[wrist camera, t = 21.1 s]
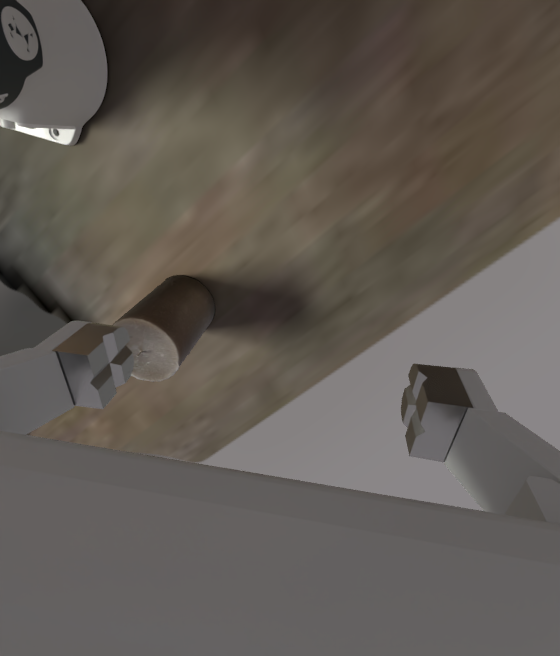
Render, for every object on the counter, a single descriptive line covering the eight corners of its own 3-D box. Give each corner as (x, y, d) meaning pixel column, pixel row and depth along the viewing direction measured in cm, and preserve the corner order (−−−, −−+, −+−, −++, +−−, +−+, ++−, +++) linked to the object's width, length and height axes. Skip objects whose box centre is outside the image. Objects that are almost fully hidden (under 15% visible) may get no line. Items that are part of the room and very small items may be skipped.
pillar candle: (160, 266, 53) (99, 311, 40) (221, 287, 53) (179, 339, 40) (154, 318, 58) (98, 373, 45) (210, 338, 58) (169, 399, 45)
